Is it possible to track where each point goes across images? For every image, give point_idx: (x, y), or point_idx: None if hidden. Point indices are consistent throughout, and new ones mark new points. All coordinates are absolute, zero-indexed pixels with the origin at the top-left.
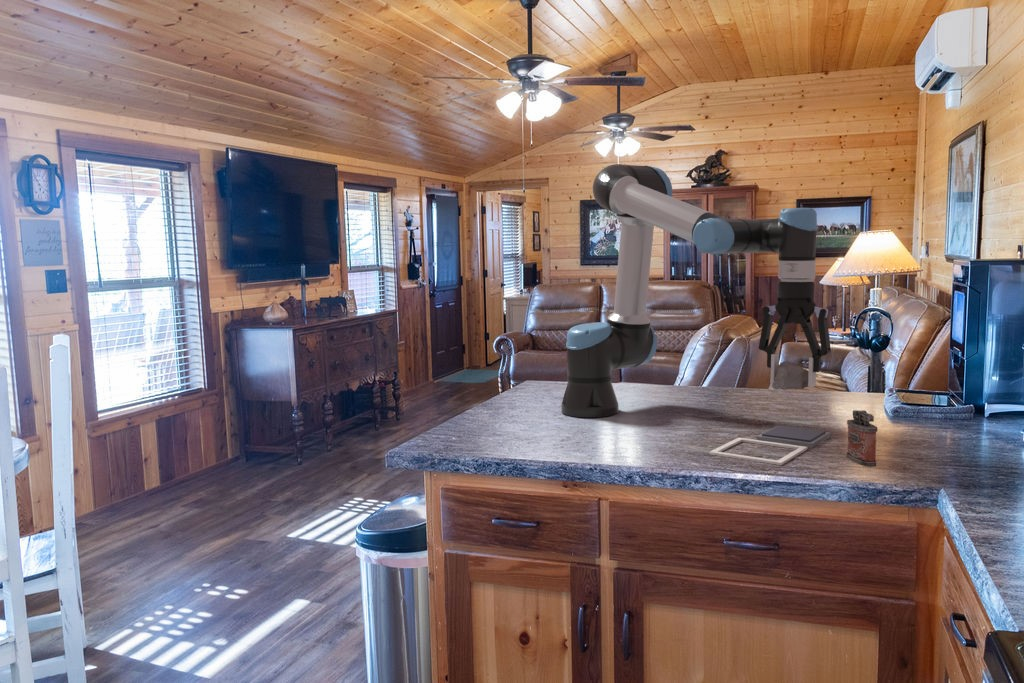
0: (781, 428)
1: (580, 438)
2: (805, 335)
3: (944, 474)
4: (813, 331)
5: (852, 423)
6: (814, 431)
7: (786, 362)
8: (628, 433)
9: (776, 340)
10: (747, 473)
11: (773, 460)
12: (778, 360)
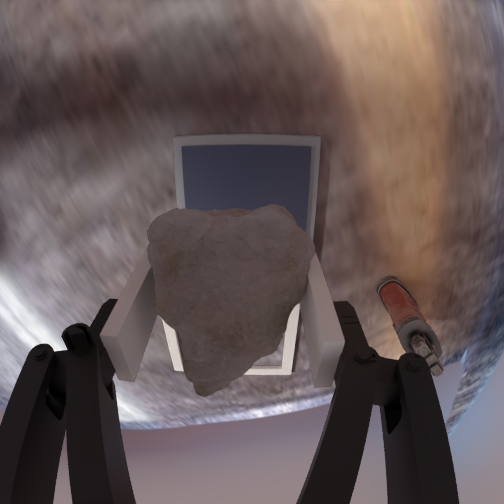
0: (201, 179)
1: (20, 353)
2: (300, 493)
3: (485, 299)
4: (350, 492)
5: (406, 351)
6: (287, 168)
7: (199, 358)
8: (21, 311)
9: (121, 444)
10: (263, 407)
11: (276, 370)
12: (130, 313)
